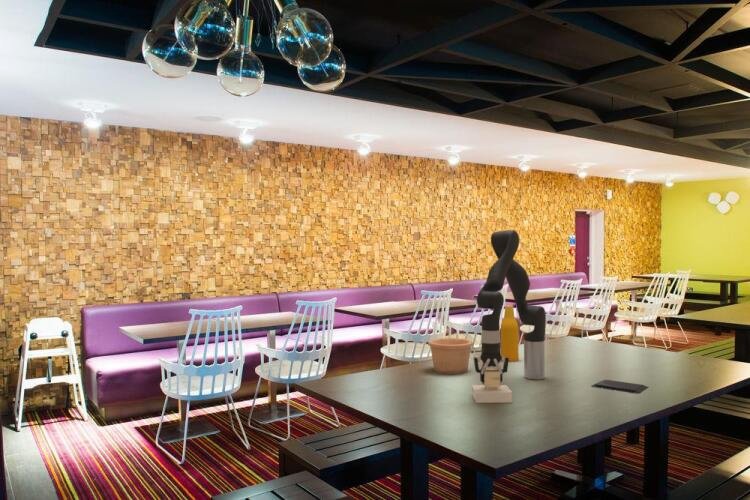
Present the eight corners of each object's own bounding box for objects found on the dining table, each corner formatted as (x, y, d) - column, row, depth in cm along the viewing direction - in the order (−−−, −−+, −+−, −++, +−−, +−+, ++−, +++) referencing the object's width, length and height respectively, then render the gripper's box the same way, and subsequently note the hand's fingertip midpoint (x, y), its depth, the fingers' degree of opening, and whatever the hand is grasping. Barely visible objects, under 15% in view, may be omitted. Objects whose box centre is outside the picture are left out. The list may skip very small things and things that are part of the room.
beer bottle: (497, 359, 306) (496, 305, 306) (511, 357, 310) (510, 304, 310) (508, 362, 298) (507, 307, 297) (522, 360, 302) (521, 306, 301)
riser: (471, 394, 234) (471, 385, 234) (506, 394, 233) (505, 384, 233) (476, 402, 222) (476, 392, 222) (512, 402, 221) (512, 392, 221)
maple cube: (482, 383, 231) (482, 368, 231) (497, 383, 230) (497, 368, 230) (485, 387, 225) (484, 372, 225) (500, 387, 224) (500, 372, 224)
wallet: (589, 383, 245) (603, 377, 256) (589, 388, 245) (603, 381, 256) (638, 391, 231) (650, 384, 242) (638, 395, 231) (650, 388, 242)
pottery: (481, 372, 274) (481, 343, 274) (441, 377, 266) (441, 346, 266) (459, 364, 294) (458, 336, 294) (421, 368, 286) (420, 340, 286)
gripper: (506, 339, 231) (507, 380, 231) (471, 339, 231) (472, 380, 232) (510, 342, 223) (511, 385, 224) (474, 342, 224) (474, 385, 224)
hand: (491, 382), depth 228 cm, fingers closed on maple cube, 6 cm apart
